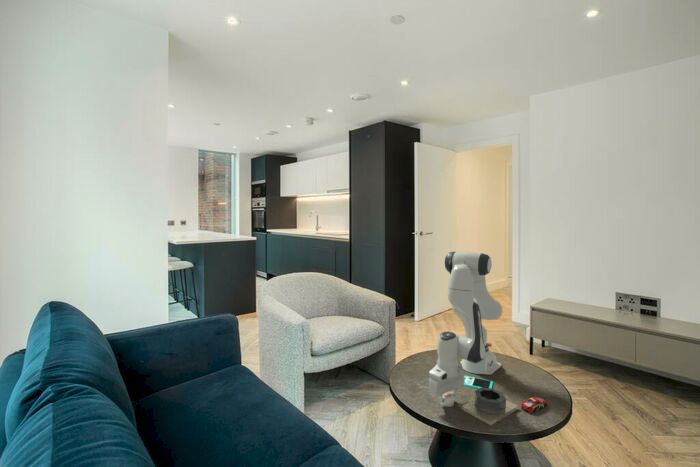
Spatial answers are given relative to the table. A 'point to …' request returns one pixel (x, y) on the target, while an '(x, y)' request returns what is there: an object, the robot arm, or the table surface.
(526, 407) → the race car
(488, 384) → the handheld game console
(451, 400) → the halved boiled egg
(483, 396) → the grey socket on board
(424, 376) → the table surface
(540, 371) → the table surface
